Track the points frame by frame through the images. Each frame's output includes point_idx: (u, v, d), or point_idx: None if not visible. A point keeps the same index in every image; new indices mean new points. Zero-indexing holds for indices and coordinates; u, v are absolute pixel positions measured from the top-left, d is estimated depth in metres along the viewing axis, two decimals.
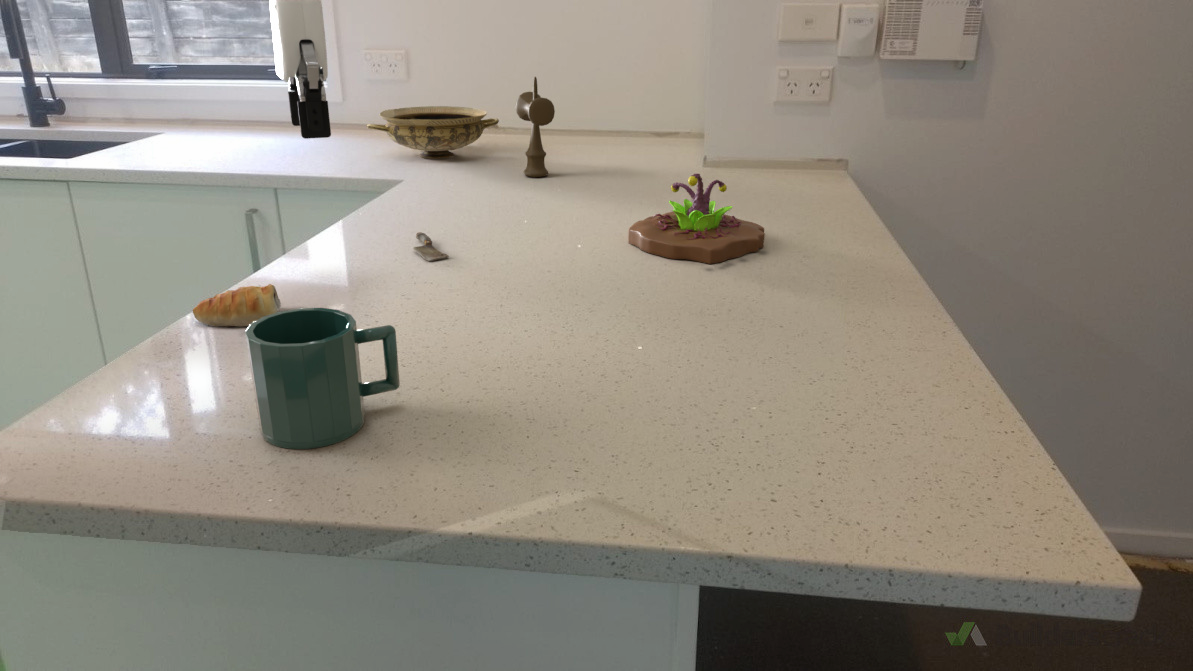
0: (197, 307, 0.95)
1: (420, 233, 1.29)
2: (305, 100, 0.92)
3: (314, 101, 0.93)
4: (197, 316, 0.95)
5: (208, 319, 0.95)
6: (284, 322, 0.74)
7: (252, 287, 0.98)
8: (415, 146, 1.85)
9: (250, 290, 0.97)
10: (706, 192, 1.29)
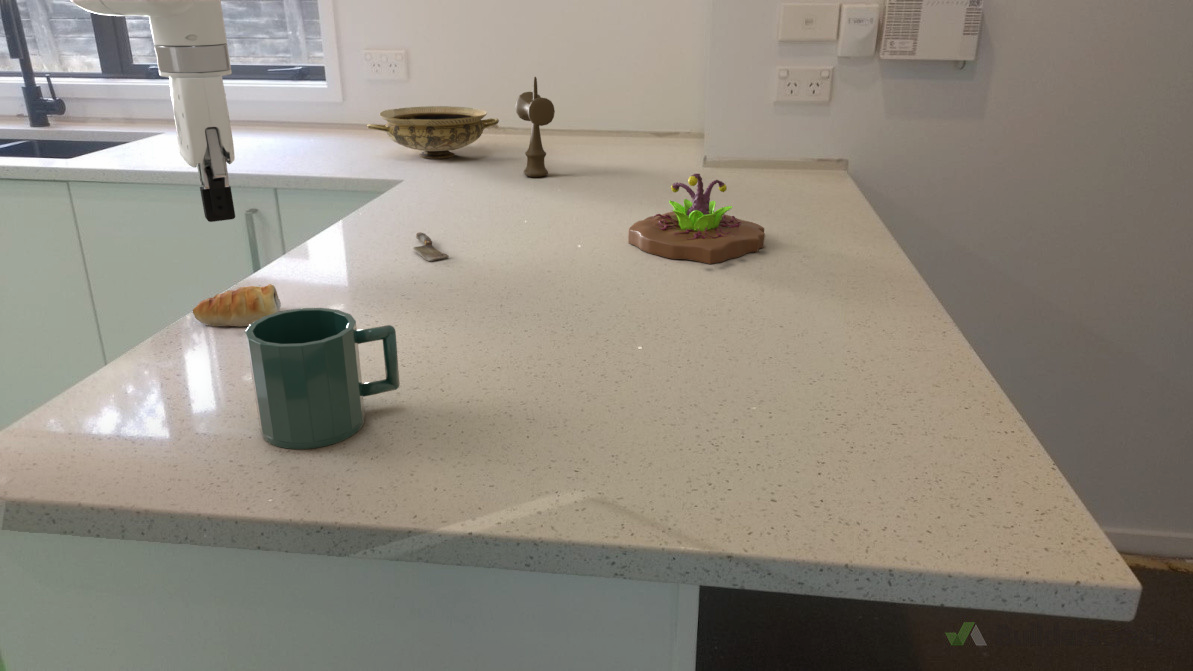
0: (197, 307, 0.95)
1: (420, 233, 1.29)
2: (209, 188, 0.99)
3: (218, 188, 0.99)
4: (197, 316, 0.95)
5: (208, 319, 0.95)
6: (284, 322, 0.74)
7: (252, 287, 0.98)
8: (415, 146, 1.85)
9: (250, 290, 0.97)
10: (706, 192, 1.29)
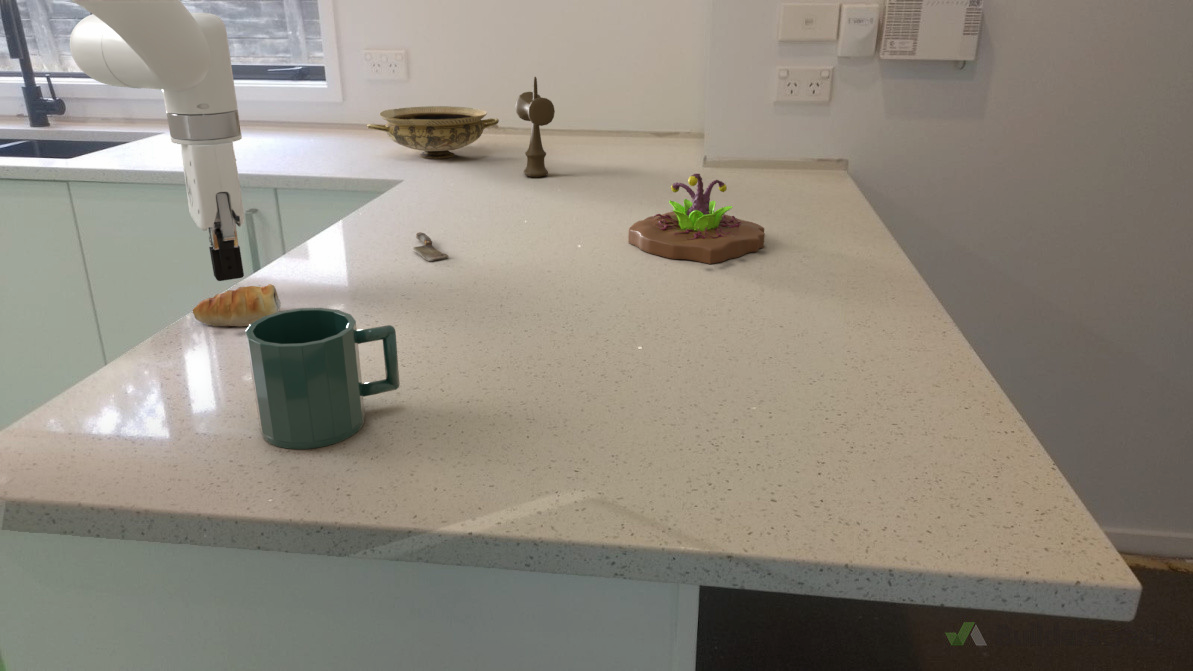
0: (197, 307, 0.95)
1: (420, 233, 1.29)
2: (219, 249, 1.00)
3: (227, 248, 1.01)
4: (197, 316, 0.95)
5: (208, 319, 0.95)
6: (284, 322, 0.74)
7: (252, 287, 0.98)
8: (415, 146, 1.85)
9: (250, 290, 0.97)
10: (706, 192, 1.29)
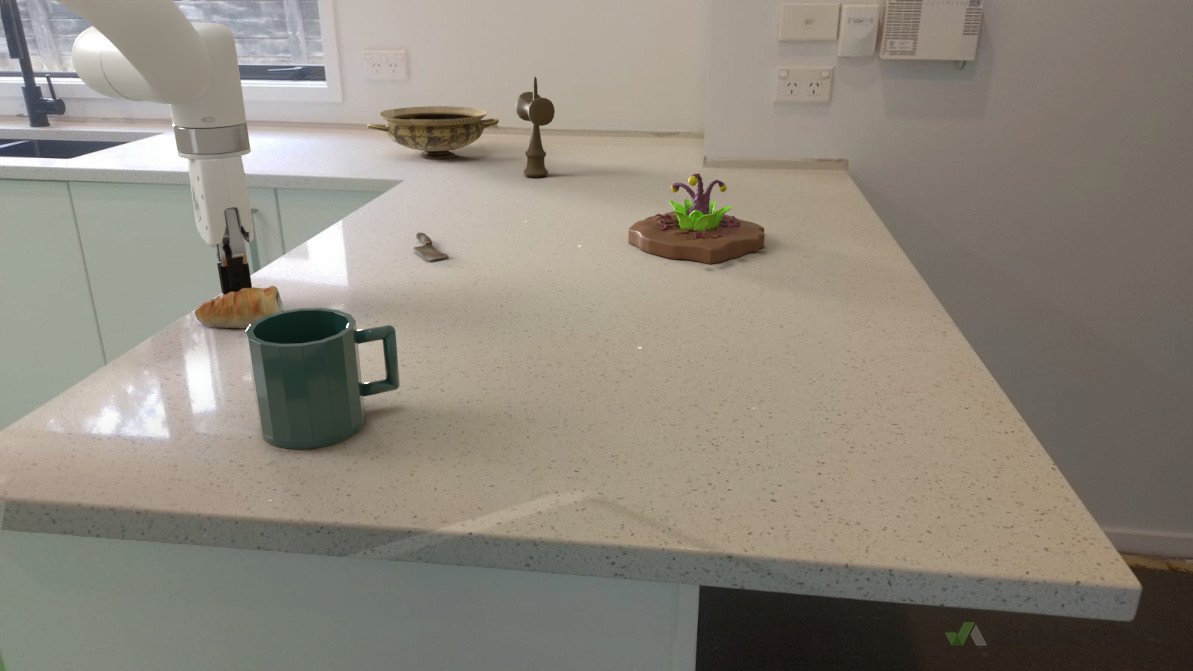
0: (199, 308, 0.95)
1: (420, 233, 1.29)
2: (227, 265, 0.97)
3: (236, 265, 0.98)
4: (199, 318, 0.95)
5: (210, 320, 0.94)
6: (284, 322, 0.74)
7: (254, 288, 0.98)
8: (415, 146, 1.85)
9: (252, 292, 0.96)
10: (706, 192, 1.29)
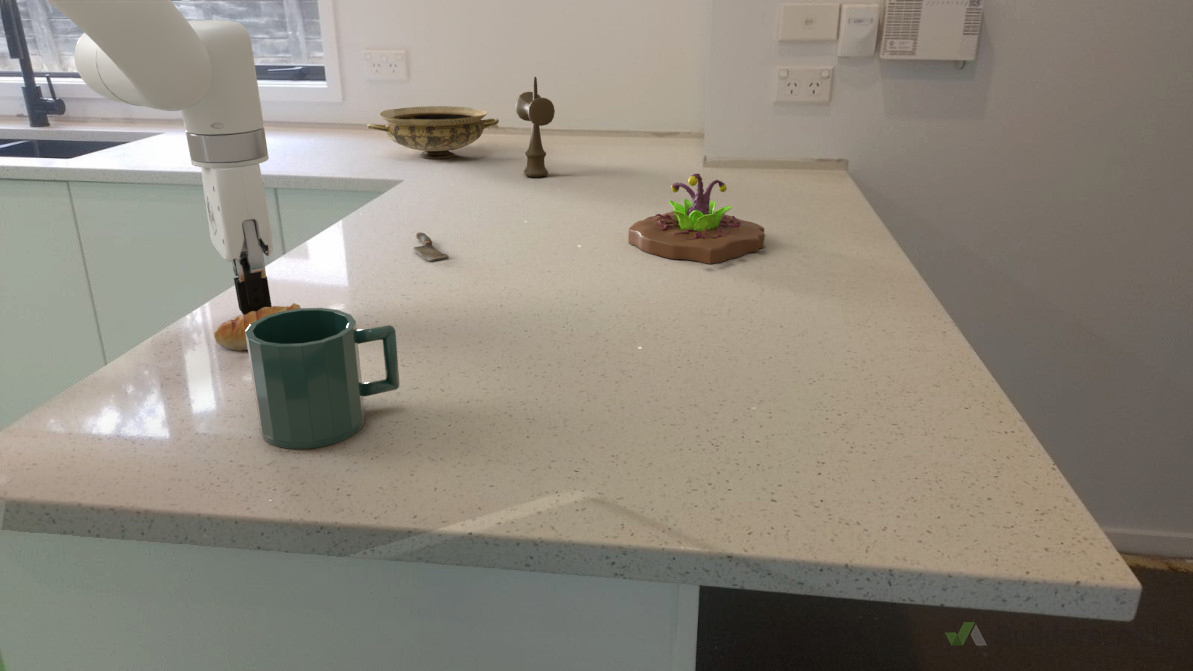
0: (219, 331, 0.89)
1: (420, 233, 1.29)
2: (245, 280, 0.91)
3: (254, 280, 0.92)
4: (219, 340, 0.89)
5: (232, 343, 0.89)
6: (284, 322, 0.74)
7: (276, 307, 0.92)
8: (415, 146, 1.85)
9: (275, 311, 0.91)
10: (706, 192, 1.29)
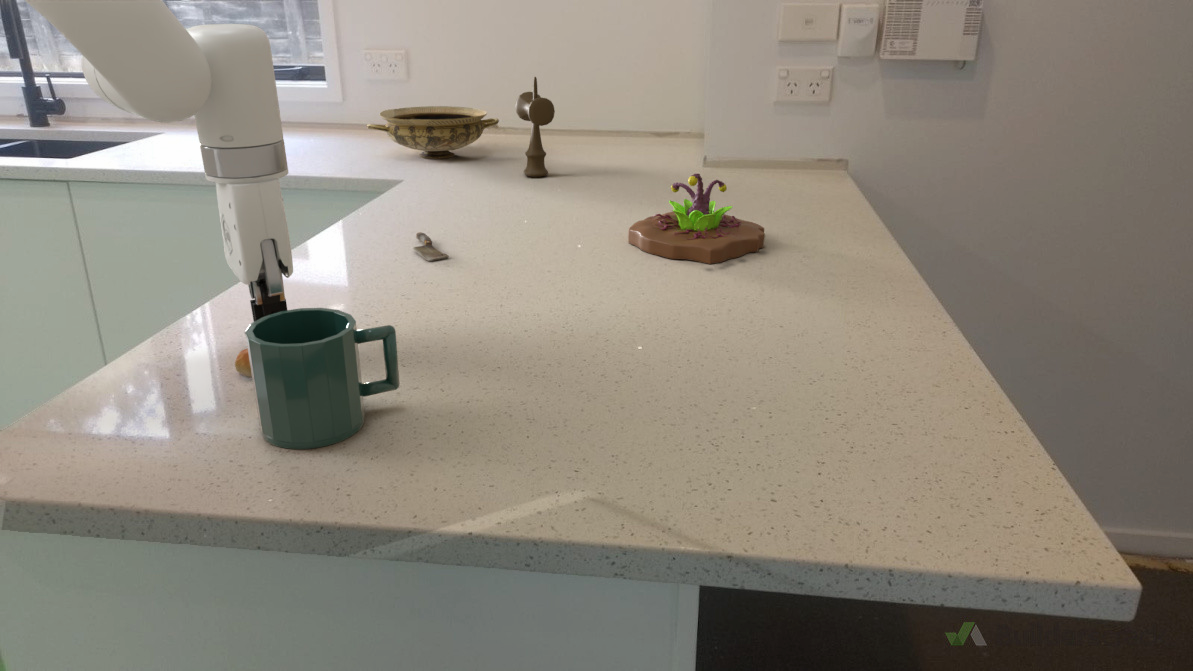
0: (241, 359, 0.82)
1: (420, 233, 1.29)
2: (262, 303, 0.85)
3: (272, 303, 0.85)
4: (241, 369, 0.82)
5: None
6: (284, 322, 0.74)
7: None
8: (415, 146, 1.85)
9: None
10: (706, 192, 1.29)
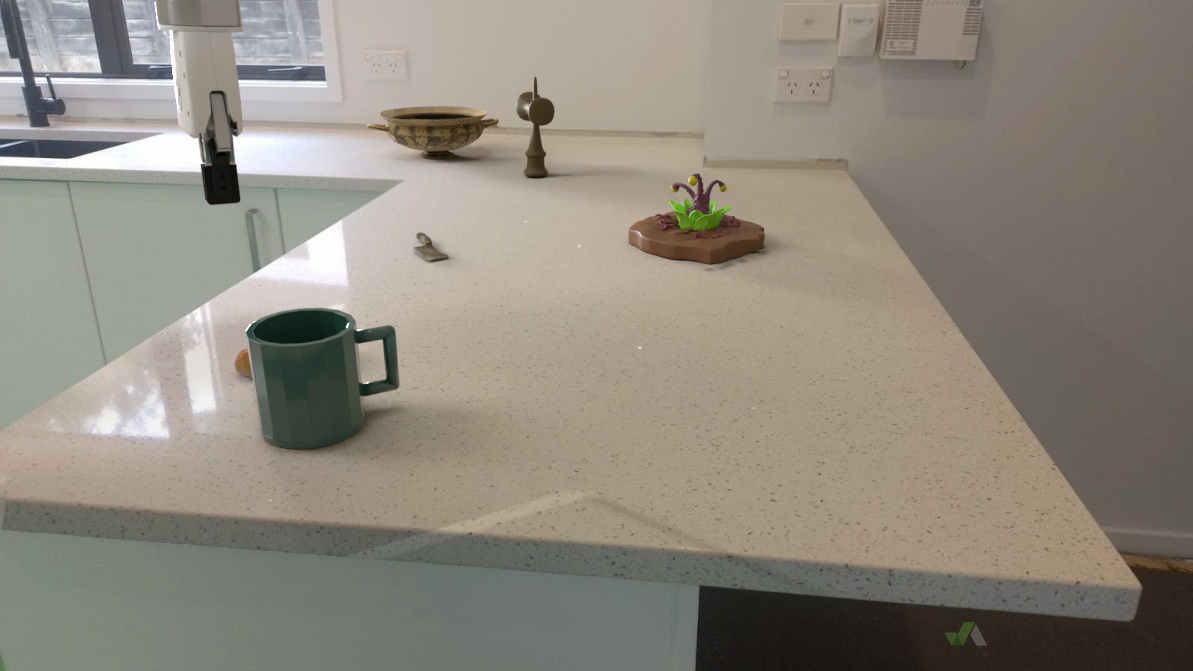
0: (241, 359, 0.82)
1: (420, 233, 1.29)
2: (211, 164, 0.85)
3: (221, 165, 0.85)
4: (241, 369, 0.82)
5: None
6: (284, 322, 0.74)
7: None
8: (415, 146, 1.85)
9: None
10: (706, 192, 1.29)
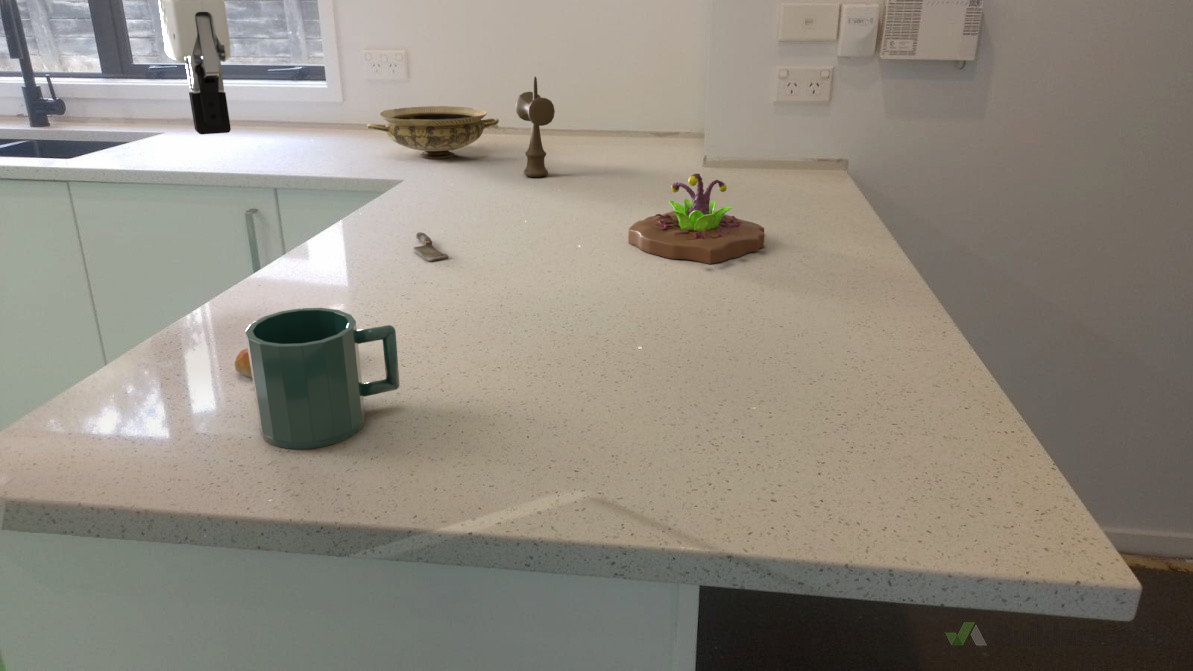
0: (241, 359, 0.82)
1: (420, 233, 1.29)
2: (200, 91, 0.83)
3: (210, 92, 0.84)
4: (241, 369, 0.82)
5: None
6: (284, 322, 0.74)
7: None
8: (415, 146, 1.85)
9: None
10: (706, 192, 1.29)
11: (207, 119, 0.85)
